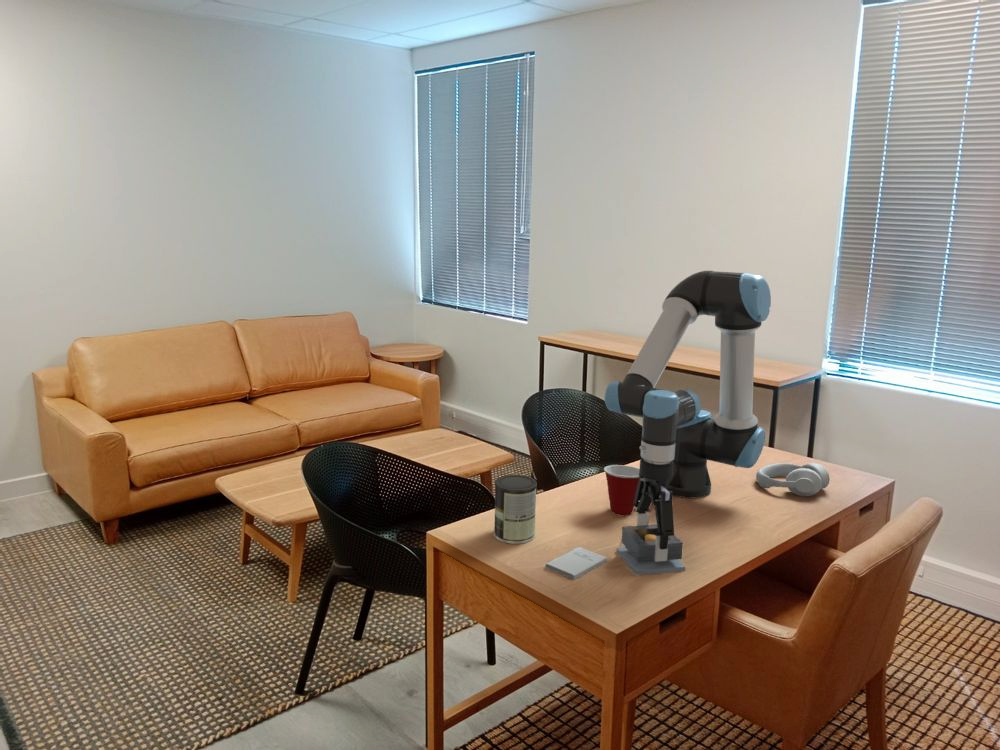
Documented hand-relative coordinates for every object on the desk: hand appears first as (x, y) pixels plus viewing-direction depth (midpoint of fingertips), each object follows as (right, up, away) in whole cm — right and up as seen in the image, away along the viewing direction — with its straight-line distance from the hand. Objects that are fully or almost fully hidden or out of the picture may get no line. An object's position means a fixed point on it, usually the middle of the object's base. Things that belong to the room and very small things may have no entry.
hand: (650, 549), depth 181 cm
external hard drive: (-18, -4, -2) cm, 18 cm away
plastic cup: (-2, +4, +29) cm, 29 cm away
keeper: (0, -3, +1) cm, 3 cm away
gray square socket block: (0, 0, 0) cm, 0 cm away
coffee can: (-31, 0, +13) cm, 34 cm away
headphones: (+51, +7, +50) cm, 72 cm away
